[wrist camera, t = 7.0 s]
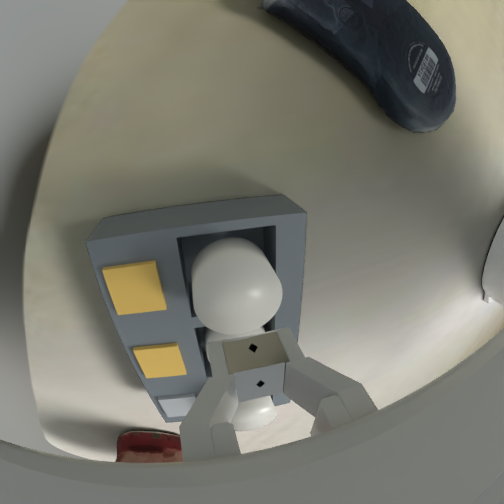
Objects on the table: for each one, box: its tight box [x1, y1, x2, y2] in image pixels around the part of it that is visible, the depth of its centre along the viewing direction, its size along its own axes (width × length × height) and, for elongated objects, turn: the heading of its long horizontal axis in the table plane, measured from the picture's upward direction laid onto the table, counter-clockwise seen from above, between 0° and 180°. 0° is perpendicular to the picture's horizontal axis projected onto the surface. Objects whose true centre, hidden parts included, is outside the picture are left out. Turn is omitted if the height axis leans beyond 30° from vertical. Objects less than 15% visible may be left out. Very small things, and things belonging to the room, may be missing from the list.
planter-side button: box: [231, 396, 276, 431], centre depth 18 cm, size 4×4×2 cm
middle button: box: [203, 326, 265, 362], centre depth 17 cm, size 4×4×2 cm
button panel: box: [85, 195, 307, 423], centre depth 18 cm, size 11×17×4 cm, turn 3°
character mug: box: [115, 431, 183, 463], centre depth 21 cm, size 20×12×14 cm, turn 79°
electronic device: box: [257, 0, 456, 133], centre depth 11 cm, size 10×6×15 cm
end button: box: [191, 237, 283, 335], centre depth 13 cm, size 4×4×2 cm
